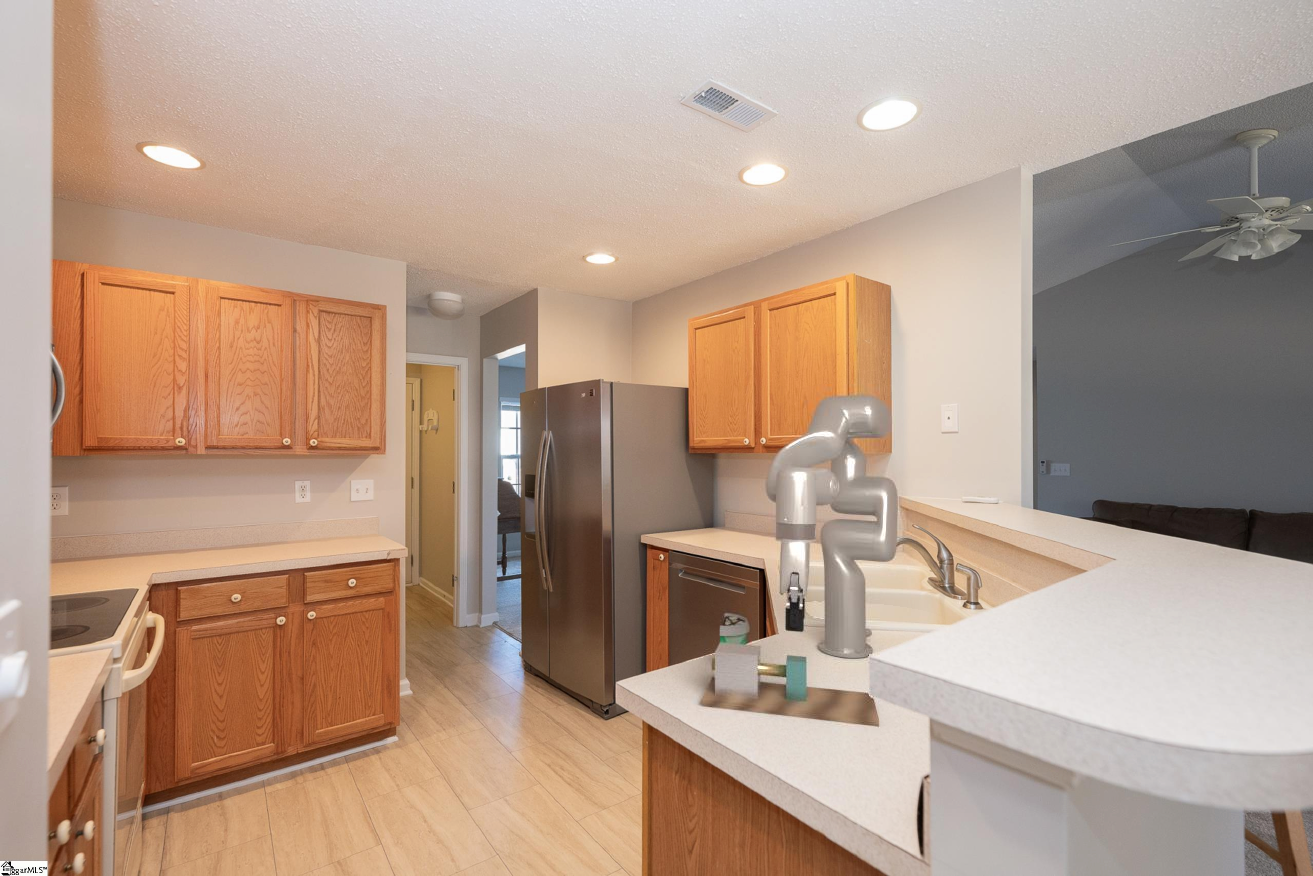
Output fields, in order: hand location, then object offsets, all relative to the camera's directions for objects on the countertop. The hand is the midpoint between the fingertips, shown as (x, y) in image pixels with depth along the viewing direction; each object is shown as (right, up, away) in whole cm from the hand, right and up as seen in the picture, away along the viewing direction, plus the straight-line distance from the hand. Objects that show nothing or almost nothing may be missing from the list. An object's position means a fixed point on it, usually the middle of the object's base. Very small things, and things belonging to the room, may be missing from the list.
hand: (795, 624), depth 111 cm
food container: (-8, -16, +21) cm, 28 cm away
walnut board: (-1, -15, 0) cm, 15 cm away
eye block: (-10, -14, +3) cm, 17 cm away
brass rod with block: (-7, -14, +2) cm, 15 cm away
